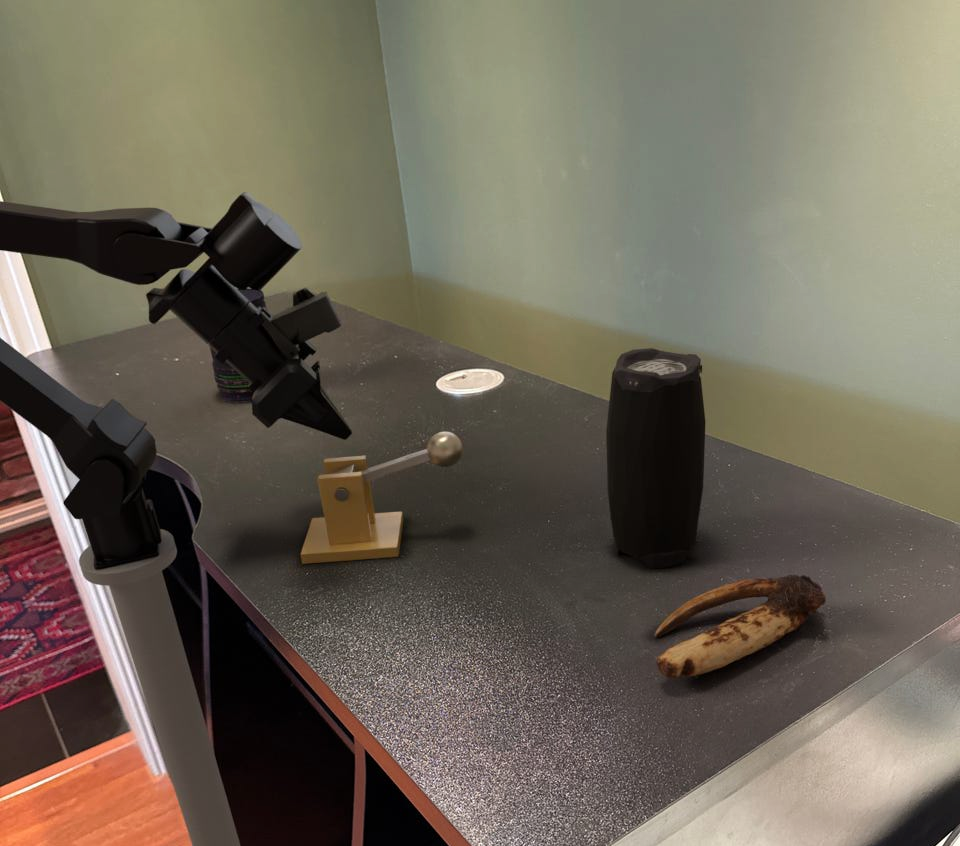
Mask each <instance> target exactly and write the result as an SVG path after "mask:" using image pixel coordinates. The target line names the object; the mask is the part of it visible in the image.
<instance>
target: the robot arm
mask: <svg viewBox="0 0 960 846" xmlns="http://www.w3.org/2000/svg"><path fill="white" fill-rule="evenodd" d="M302 248H303V244H302V241H301V238H299V236H298V234H297V233H296V232H295V230H294V229H293V228H292V226H291V225H290V224H289V223H288V222H287V221H286V220H285V219H284V218H283V216H281V215H280V214H279V213H275V212H274V211H273V210H271V208H269V207H268V206H266V205H264V204H263V203H261V202H260V201H257V200H256V199H254V198H253V197H252V196H251V195H250V194H249V193H248V192H245V191H244V192H242V193H240V194H239V195H237V197H236V198H235V200H234V201H233V202H232V203H231V204H230V206H229V208H228V209H227V211H226V213H225V214H223V216H222V217H221V218H220V219H219V221H217V223H216V224H214V226H213V227H206V226H201V225H196V224H191V223H185V222H180V221H177V220H176V219H175V218H174V217H173V215H172V214H171V213H170V212H168V211H166V210H164V209H160V208H158V207H131V208H130V207H128V208H127V207H126V208H112V209H103V210H96V211H73V210H66V209H58V208H52V207H45V206H38V205H30V204H23V203H16V202H9V201H1V200H0V251H3V252H9V253H17V254H25V255H32V256H38V257H47V258H53V259H60V260H61V259H62V260H67V261H72V262H74V263H77V264H81V265H83V266H85V267H86V268H88V269H90V270H91V271H92V270H93V271H94V272H96V273H98V274H100V275H102V276H105V277H109V278H112V279H116V280H119V281H122V282H125V283H129V284H132V285H136V286H146V285H151V284H154V283H155V282H157V281H159V280H160V279H161V278H163V277H164V276H165V275H166V274H168V273H169V272H170V271H171V270H178V269H181V270H178V272H177V273H176V275H174V277H173V278H172V279H171V280H170V281H169V282H168V283H167V284H166V286H164V288H158V287H153V288H151V289H150V290H149V291H147V292H146V294H145V297H146V300H147V304H148V322H149V323H151V324H152V325H153V324H154V325H155V324H157V323H158V322H159V321H160V320H161V319H163V318H164V317H165V315H166V314H168V313H169V311H170V312H171V313H172V314H173V315H175V316H176V317H177V318H178V319H179V320H180V321H181V322H182V323H183V324H184V325H185V326H186V327H188V328H189V329H190V330H191V331H192V332H193V333H194V334H195V335H196V336H197V337H199V339H201V340H202V341H203V342H204V343H205V344H206V345H207V346H208V347H209V348H210V347H211V348H212V349H213V350H214V351H215V352H216V354H215V356H214V357H215V358H216V359H217V360H218V361H219V362H221V363H222V364H223V363H224V362H225V361H226V362H227V363H228V364H229V365H230V366H231V367H233V368H234V369H235V370H236V371H237V372H238V373H239V374H240V375H241V376H242V377H243V378H245V379H246V380H247V381H248V382H249V385H248V388H249V389H250V390H251V391H252V392H253V393H254V394H253V397H252V402H251V414H252V416H253V417H255V418H256V419H257V420H258V421H259V422H260V423H262V424H263V426H265V427H266V428H267V429H270V428H271V427H273V426H274V424H275V423H276V422H278V420H280V419H283V420H286V421H288V422H292V423H295V424H298V425H302V426H305V427H307V428H309V429H313V430H315V431H319V432H321V433H324V434H327V435H330V436H333V437H335V438H338V439H340V440H344V441H347V439H349V437H351V436H352V434H353V431H352V428H351V426H350V425H349V424H348V422H347V421H346V419H345V418H344V417H343V415H342V414H341V412H340V410H339V409H338V408H337V406H336V405H335V403H334V402H333V400H332V399H331V398H330V396H329V395H328V393H327V392H326V390H325V388H324V387H323V385H322V383H321V362H320V360H316V362H314V363H313V364H312V365H311V366H310V365H309V364H308V363H307V362H306V361H305V360H306V359H307V358H308V357H309V356H310V355H311V356H314V355H315V354H316V353H317V347H316V346H315V345H314V344H313V343H312V342H311V340H312V339H313V338H315V337H318V336H320V335H322V334H324V333H328V334H329V333H331V332H334V331H336V330H337V329H339V328H340V327H341V326H342V323H341V319H340V317H339V314H338V312H337V311H336V308H335V306H334V304H333V302H332V299H331V298H330V296H329V294H328V292H327V291H321V292H319V293H318V294H316V293H315V292H313V290H311V289H309V288H308V287H306V286H305V287H303V288H301V289H299V290H296V291H294V292H293V293H292V306H288V307H286V308H285V309H284V310H282V311H280V312H277V313H276V314H273V313H271V311H269V310H268V308H267V307H266V308H267V309H266V308H265V307H263V308H261V307H258V308H256V307H255V306H254V305H253V304H252V303H251V302H249V300H248V299H247V298H246V297H245V296H244V295H243V294H242V293H241V292H239V291H238V290H237V289H240V290H246V289H254V290H261V291H262V290H263V289H264V287H265V286H266V285H268V283H269V282H270V281H271V280H272V279H273V278H275V276H276V275H277V274H278V273H279V272H280V271H281V270H282V269H283V268H284V267H285V266H286V265H287V264H288V263H289V262H290V261H291V260H292V259H293V258H294V257H295V255H296V254H298V253H299V252H300V251H301V250H302ZM202 254H205V255H206V256H207V257H208V258H207V260H206V261H204V263H203V264H202V265H201V266H200V267H198V269H197V270H196V271H194V270H191V269H187V267H188V266H190V265H191V264H192V263H193V262H194V261H195V260H197V259H198V258H199V257H200V256H201V255H202ZM185 268H186V269H185ZM0 402H1V403H2V404H3V405H5V406H6V407H7V408H9V409H10V410H12V411H13V412H14V413H15V414H17V415H18V416H20V418H22V419H24V420H25V421H26V422H27V423H28V424H30V425H32V426H33V427H34V428H36V430H39V432H41V433H43V434H44V435H45V436H46V437H47V438H49V440H50V441H51V442H52V444H53V446H54V447H55V449H56V451H57V453H58V454H59V456H60V458H61V459H62V462H63V463H64V465H65V467H66V468H67V469H68V470H69V471H70V472H71V473H72V474H73V475H74V476H75V477H76V478H77V479H78V481H77V482H76V484H75V485H74V487H73V488H72V489H71V491H70V492H69V493H68V494H67V496H66V497H65V499H64V500H63V506H64V507H65V508H66V509H67V511H68V513H70V515H71V516H72V517H73V519H74V520H81V521H82V523H83V527H84V530H85V532H86V536H87V539H88V542H89V546H90V545H91V548H92V551H93V554H94V564H93V565H94V568H95V570H100V569H105V568H109V567H114V566H118V565H122V564H127V563H131V562H135V561H140V560H144V559H149V558H153V557H157V556H158V555H159V545H158V544H160V543H161V542H162V538H161V530H160V529H161V526H160V524H159V520H158V517H157V513H156V510H155V506H154V503H153V500H152V499H147V498H146V494H145V492H144V489H143V486H141V485H142V484H143V483H144V482H145V481H146V478H147V473H148V472H149V470H150V469H151V467H152V466H153V464H154V463H155V461H156V458H157V453H158V451H157V445H156V439H155V438H154V436H153V434H152V433H151V432H150V431H149V430H148V429H147V428H145V427H146V426H147V424H148V422H147V421H145V420H142V419H140V418H138V417H136V416H134V415H133V414H131V412H129V411H128V409H126V408H125V407H124V406H123V404H122V403H120V402H118V400H115V399H114V398H113V399H110V400H109V401H108V402H107V403H106V404H105V405H104V406H103V407H102V406H99V405H95V404H92V403H88V402H86V401H85V400H83V399H81V398H80V397H78V396H77V395H76V394H74V393H73V392H72V391H70V390H69V389H67V388H66V387H65V386H63V384H61V383H60V382H58V381H57V380H56V379H55V378H53V376H50V375H49V374H48V373H47V372H45V370H43V369H42V368H41V367H39V366H38V365H36V364H35V363H34V362H33V361H31V360H30V359H29V358H28V357H26V356H25V355H23V354H22V353H21V352H20V351H18V350H17V349H16V348H14V347H13V346H12V345H10V344H9V343H8V342H6V341H5V340H4V339H3V338H1V337H0Z"/></svg>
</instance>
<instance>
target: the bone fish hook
mask: <svg viewBox="0 0 960 846" xmlns="http://www.w3.org/2000/svg"><path fill="white" fill-rule="evenodd" d="M751 598H767V600H766V601H765V602H763V603H761V604H759V605H758V606H757V607H754V608H752V609H751V610H748V611H745V612H743V613H740V614H739V615H737V616H735V617H732V618H729V619H727V620H725V621H723V622H722V623H721V624H718V625H717V626H715V627H712V628H711V629H709V630H707V631H705V632H703V633H700V634H698V635H696V636H694V637H693V638H690V639H687V640H684V641H681V642H679V643H678V644H676V645H673V646H672V647H670V648H668V649H666V650H665V651H664V652H663V653H661V654H660V655H658V656H657V658H656V666H657V669H658V672H660V673H661V674H662V675H663V676H664V677H666V678H670V679H676V678H679V677H680V676H681V675H682V676H685V677H686V678H687V677H688V678H689V677H694V676H695V677H696V676H699V675H703V674H706V673H710V672H713V671H715V670H718V669H721V668H724V667H726V666H727V665H728V666H729V664H731V663H733V662H735V661H739V660H741V659H743V658H744V657H747V656H748V655H751V654H754V653H755V652H757V651H759V650H762V649H763V648H767V647H769V646H770V645H771V644H773V643H775V642H776V641H777V640H780V639H781V638H783V637H784V636H785V635H787V634H789V633H792V632H794V631H795V630H797V629H798V628H799V627H800V626H801V625H802V624H804V623H805V622H806V620H807V618H809V617H812V616H813V615H814V614H816V613H817V611H818V609H820V608H821V606H823V605H825V604H826V602H827V601H826V600H827V599H826V595H825V593H824V592H823V590H822V587H821V585H819V584H818V583H817V582H815V581H813V580H812V578H811V577H810V576H806V575H805V574H803V575H800V576H799V575H797V574H788V575H785V576H781V577H776V578H775V577H767V578H752V579H751V578H750V579H745V580H738V581H736V582H731V583H728V584H724V585H722V586H720V587H716V588H713V589H711V590H708V591H706V592H704V593H702V594H699V595H698V596H696V597H694V598H692V599H690V600H688V601H687V602H685V603H684V604H682V605H681V606H679V607H678V608H677V609H676V610H674V611H673V612H672V613H671V614H669V615H668V616H667V617H666V619H665V620H664V621H663V622H662V623H661V624H660V626H659V627H658V628H656V630H655V632H654V638H660V637H662V636H663V635H666V634H667V633H669V632H671V631H672V630H674V629H676V628H677V627H679V626H680V625H682V624H683V623H685V622H686V621H687V620H689V619H691V618H692V617H694V616H696V615H698V614H700V613H702V612H705V611H707V610H710V609H713V608H716V607H720V606H722V605H725V604H729V603H731V602H732V603H733V602H735V601H740V600H745V599H751Z"/></svg>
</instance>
